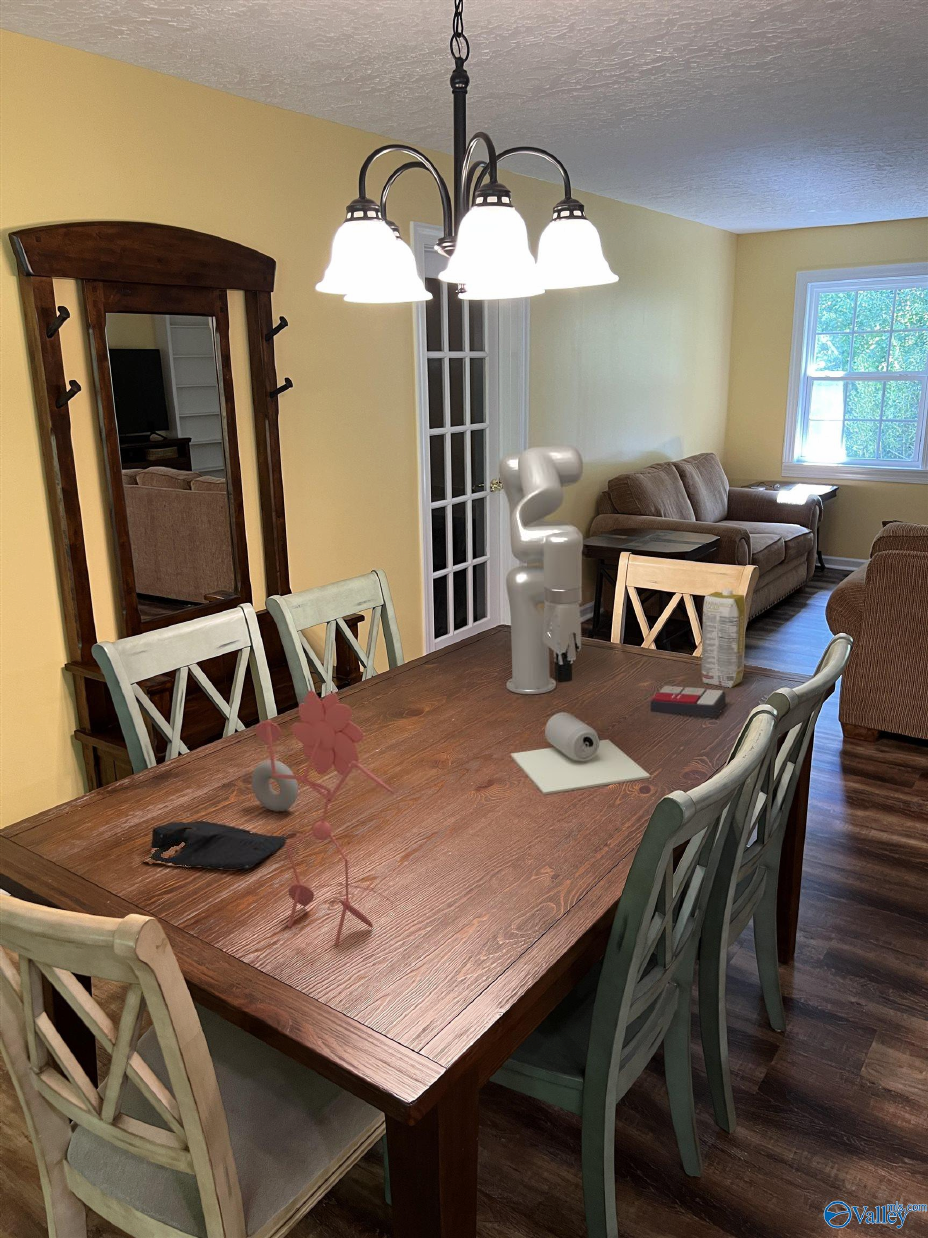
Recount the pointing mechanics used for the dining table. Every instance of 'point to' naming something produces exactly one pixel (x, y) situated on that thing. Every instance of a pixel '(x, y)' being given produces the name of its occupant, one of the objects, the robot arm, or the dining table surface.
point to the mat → (578, 768)
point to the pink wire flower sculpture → (326, 745)
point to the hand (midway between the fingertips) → (563, 680)
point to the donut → (267, 793)
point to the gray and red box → (689, 702)
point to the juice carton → (723, 638)
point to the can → (572, 737)
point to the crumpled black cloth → (213, 845)
